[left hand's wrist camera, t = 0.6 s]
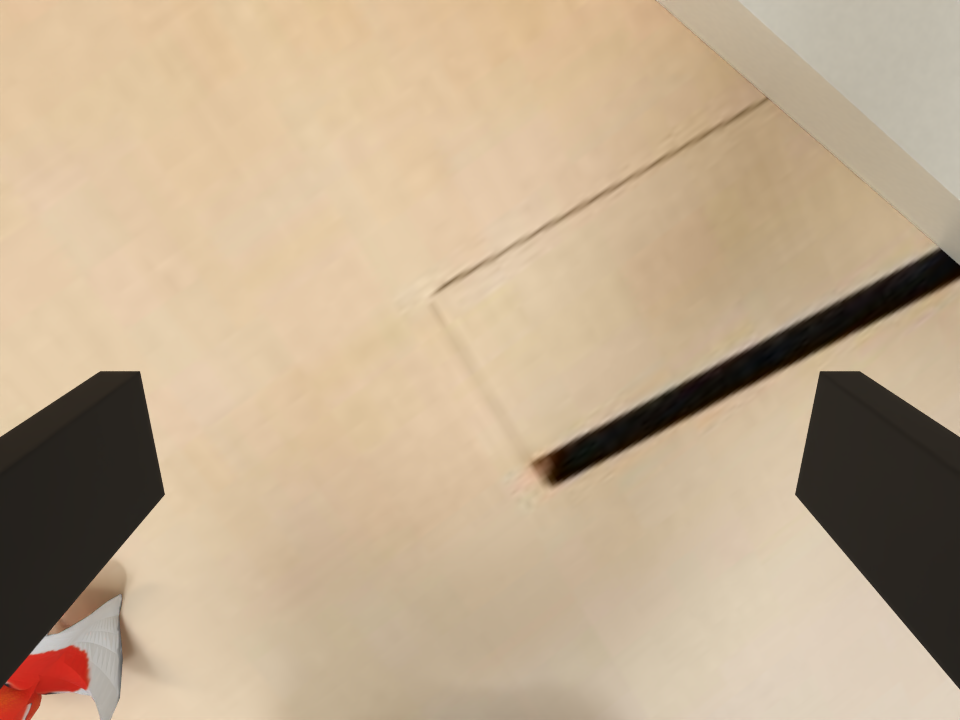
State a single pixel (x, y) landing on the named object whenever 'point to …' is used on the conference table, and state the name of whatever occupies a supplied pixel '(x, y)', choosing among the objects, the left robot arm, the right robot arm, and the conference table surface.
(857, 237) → the conference table surface
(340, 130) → the conference table surface
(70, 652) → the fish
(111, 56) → the conference table surface
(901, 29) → the beam
